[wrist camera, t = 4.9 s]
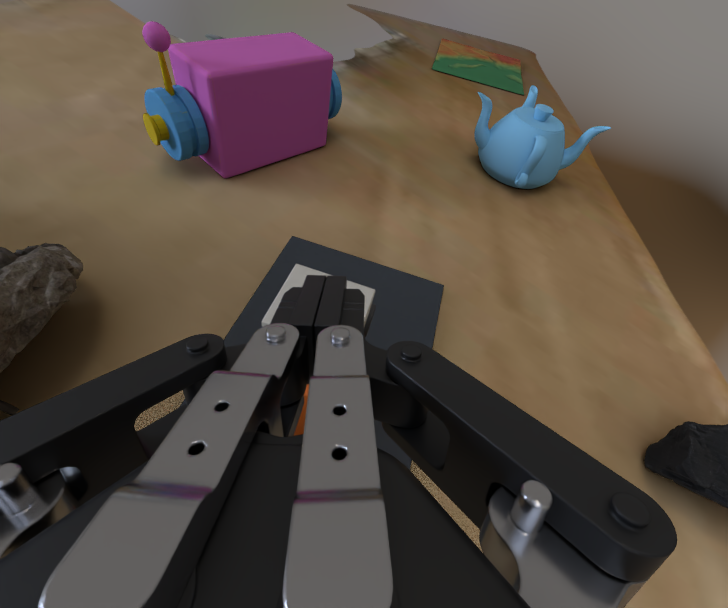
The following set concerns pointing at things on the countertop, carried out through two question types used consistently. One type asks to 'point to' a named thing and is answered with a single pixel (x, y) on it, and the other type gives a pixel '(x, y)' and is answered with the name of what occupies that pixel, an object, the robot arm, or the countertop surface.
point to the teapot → (526, 144)
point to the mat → (392, 299)
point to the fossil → (32, 295)
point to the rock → (694, 459)
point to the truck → (298, 280)
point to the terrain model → (479, 66)
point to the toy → (241, 99)
